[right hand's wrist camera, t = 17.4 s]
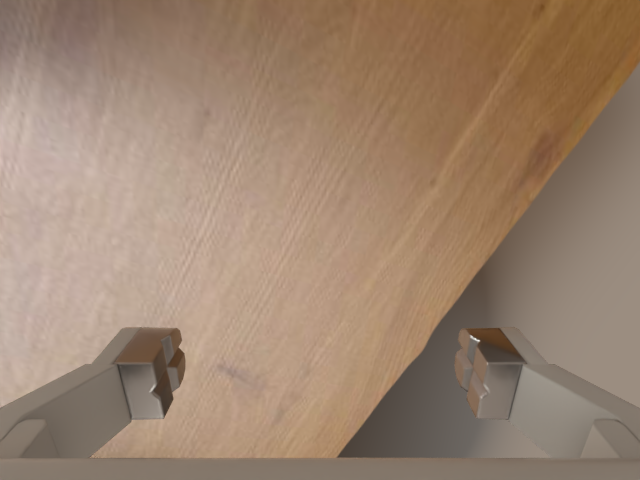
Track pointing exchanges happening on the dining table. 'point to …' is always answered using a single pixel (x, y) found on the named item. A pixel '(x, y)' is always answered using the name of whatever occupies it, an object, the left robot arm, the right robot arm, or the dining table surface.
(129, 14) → the dining table surface
